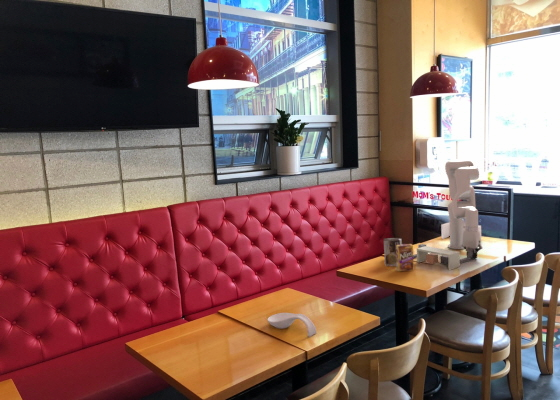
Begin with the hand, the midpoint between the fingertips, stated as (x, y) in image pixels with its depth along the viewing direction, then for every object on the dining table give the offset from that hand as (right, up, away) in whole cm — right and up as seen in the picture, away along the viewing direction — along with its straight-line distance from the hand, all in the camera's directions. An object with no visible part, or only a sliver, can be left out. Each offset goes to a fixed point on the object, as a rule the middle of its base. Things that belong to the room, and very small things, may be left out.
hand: (471, 257), depth 273 cm
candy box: (-45, -6, -14) cm, 48 cm away
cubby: (-23, -3, -7) cm, 25 cm away
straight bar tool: (-30, -1, +13) cm, 33 cm away
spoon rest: (-114, -19, -86) cm, 144 cm away
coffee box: (-49, -4, -1) cm, 50 cm away
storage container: (+15, +6, +53) cm, 55 cm away
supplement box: (-45, -2, +13) cm, 46 cm away
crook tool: (-9, -2, -2) cm, 10 cm away
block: (-25, -3, -2) cm, 25 cm away
